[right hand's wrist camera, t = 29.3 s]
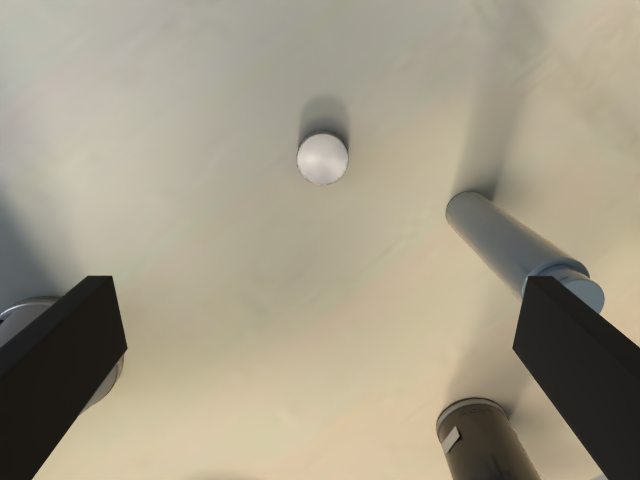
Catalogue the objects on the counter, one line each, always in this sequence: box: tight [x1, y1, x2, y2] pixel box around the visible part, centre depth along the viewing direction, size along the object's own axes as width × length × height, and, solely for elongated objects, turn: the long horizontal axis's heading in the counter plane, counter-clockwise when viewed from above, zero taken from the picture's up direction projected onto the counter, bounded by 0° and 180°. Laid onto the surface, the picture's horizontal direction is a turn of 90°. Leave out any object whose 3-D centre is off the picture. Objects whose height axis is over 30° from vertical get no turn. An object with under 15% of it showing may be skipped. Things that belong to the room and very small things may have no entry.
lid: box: [297, 130, 349, 185], centre depth 39 cm, size 5×5×2 cm
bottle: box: [446, 191, 604, 314], centre depth 34 cm, size 4×4×20 cm
